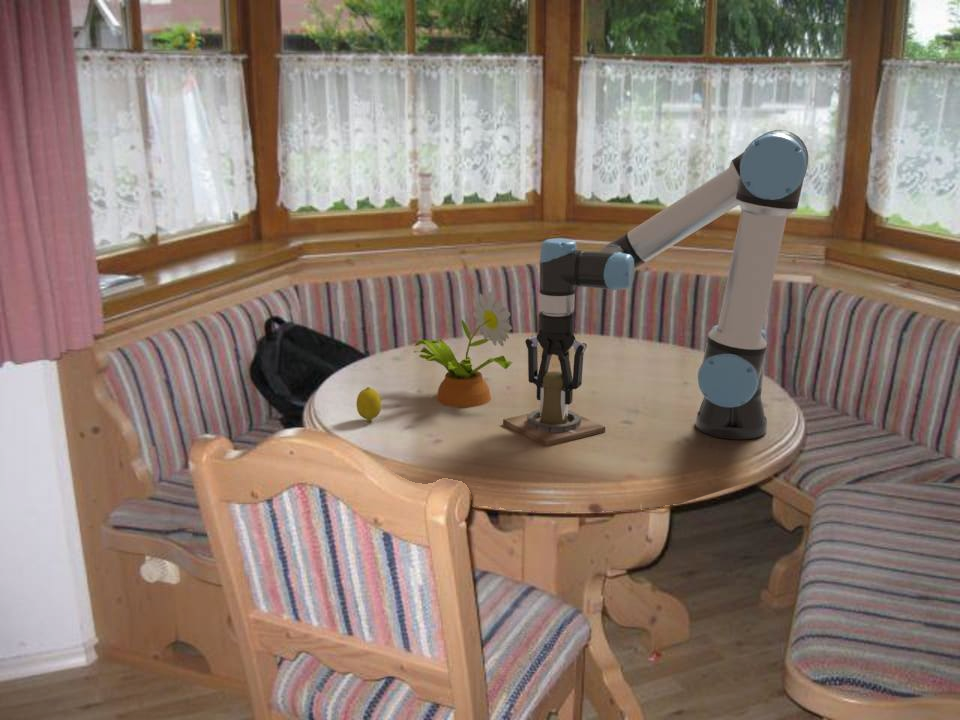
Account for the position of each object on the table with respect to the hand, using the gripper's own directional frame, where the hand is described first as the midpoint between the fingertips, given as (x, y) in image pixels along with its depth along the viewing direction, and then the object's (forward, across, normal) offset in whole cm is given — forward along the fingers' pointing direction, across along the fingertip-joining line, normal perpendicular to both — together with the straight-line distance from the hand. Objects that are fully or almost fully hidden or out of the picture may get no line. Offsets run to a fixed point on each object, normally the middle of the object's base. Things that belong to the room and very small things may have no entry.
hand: (554, 415), depth 215 cm
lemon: (+3, +39, +14) cm, 41 cm away
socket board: (+3, 0, 0) cm, 3 cm away
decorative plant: (+3, +28, -9) cm, 30 cm away
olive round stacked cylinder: (+1, 0, 0) cm, 1 cm away
